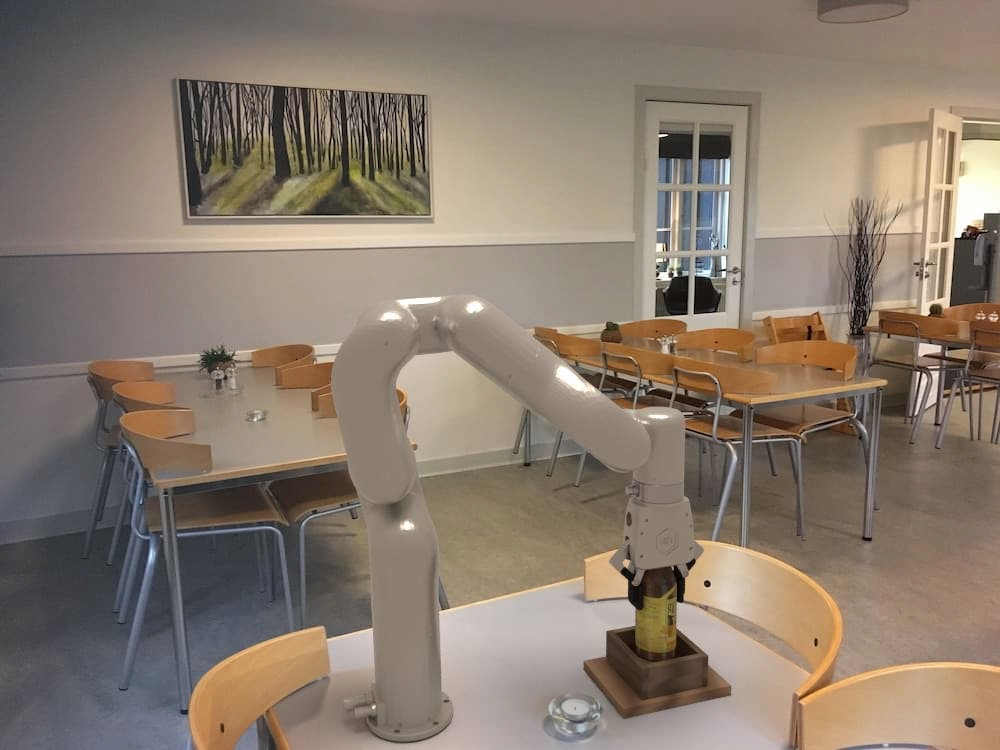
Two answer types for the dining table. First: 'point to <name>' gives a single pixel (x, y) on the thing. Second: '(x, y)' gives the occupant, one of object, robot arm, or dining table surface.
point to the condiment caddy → (653, 676)
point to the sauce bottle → (657, 616)
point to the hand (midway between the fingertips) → (656, 601)
